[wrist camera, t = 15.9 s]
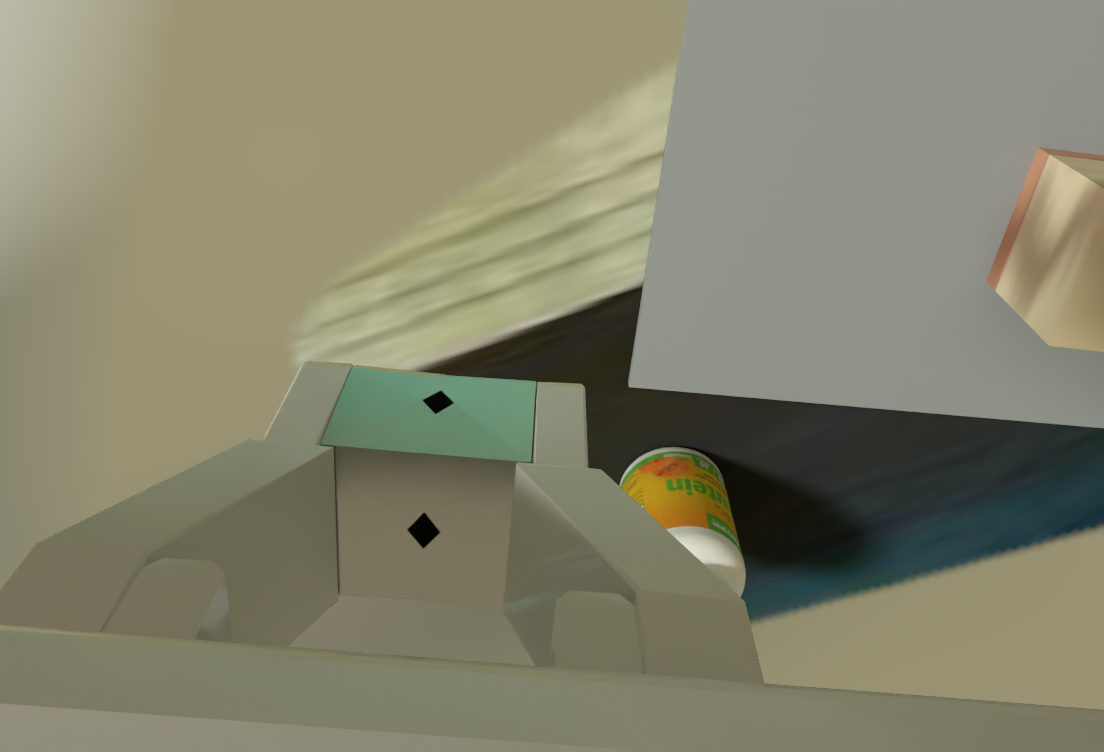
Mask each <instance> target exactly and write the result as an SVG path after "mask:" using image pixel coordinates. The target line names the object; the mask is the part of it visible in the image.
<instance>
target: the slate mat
mask: <svg viewBox="0 0 1104 752" xmlns="http://www.w3.org/2000/svg"><path fill="white" fill-rule="evenodd" d="M1038 147H1039V148H1047V149H1055V150H1063V151H1071V152H1079V153H1088V154H1096V155H1104V0H688V4H687V11H686V17H685V24H684V31H683V36H682V43H681V49H680V55H679V62H678V68H677V74H676V81H675V87H674V94H673V100H672V106H671V113H670V119H669V125H668V132H667V138H666V144H665V151H664V157H663V164H662V170H661V176H660V183H659V189H658V195H657V202H656V208H655V215H654V221H653V227H652V234H651V240H650V246H649V253H648V259H647V265H646V272H645V278H644V285H643V291H642V297H641V304H640V310H639V316H638V323H637V329H636V335H635V342H634V348H633V355H632V361H631V367H630V374H629V380H628V384H629V387H635V388H647V389H658V390H670V391H681V392H693V393H705V394H716V395H728V396H739V397H751V398H762V399H774V400H785V401H797V402H808V403H820V404H831V405H843V406H854V407H866V408H877V409H889V410H900V411H912V412H923V413H935V414H947V415H958V416H970V417H981V418H993V419H1004V420H1016V421H1027V422H1039V423H1050V424H1062V425H1073V426H1085V427H1096V428H1104V352H1100V351H1091V350H1082V349H1073V348H1064V347H1055V346H1049V345H1048V344H1047V343H1046V342H1045V341H1044V340H1043V339H1042V338H1041V337H1040V336H1039V335H1038V334H1037V333H1036V332H1035V331H1034V330H1033V329H1032V328H1031V327H1030V326H1029V325H1028V324H1027V323H1026V322H1025V321H1024V320H1023V319H1022V318H1021V317H1020V316H1019V315H1018V314H1017V313H1016V312H1015V311H1014V310H1013V309H1012V308H1011V307H1010V306H1009V304H1008V303H1007V302H1006V301H1005V300H1004V299H1003V298H1002V297H1001V296H1000V295H999V294H998V293H997V292H996V291H995V290H994V289H993V288H992V287H991V286H990V285H989V284H988V283H987V282H986V280H987V278H988V275H989V273H990V270H991V267H992V265H993V262H994V260H995V257H996V255H997V252H998V250H999V247H1000V244H1001V242H1002V239H1003V237H1004V234H1005V232H1006V229H1007V226H1008V224H1009V221H1010V219H1011V216H1012V214H1013V211H1014V208H1015V206H1016V203H1017V201H1018V198H1019V196H1020V193H1021V190H1022V188H1023V185H1024V183H1025V180H1026V178H1027V175H1028V172H1029V170H1030V167H1031V165H1032V162H1033V160H1034V157H1035V154H1036V152H1037V149H1038Z"/></svg>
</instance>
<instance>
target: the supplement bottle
mask: <svg viewBox="0 0 1104 752" xmlns="http://www.w3.org/2000/svg"><path fill="white" fill-rule="evenodd" d="M619 487H621V488H622V489H623V490H624V491H625V492H626V493H627V494H628V495H629V496H630V497H631V498H632V499H634V500H635V501H636V502H637V503H638V504H639V505H640V506H641V507H642V508H643V509H644V510H646V511H647V512H648V513H649V514H650V515H651V516H652V517H653V518H654V519H655V520H656V521H657V522H659V523H660V524H661V525H662V526H663V527H664V528H665V529H666V530H667V531H668V532H669V533H671V534H672V535H673V536H674V537H675V538H676V539H677V540H678V541H679V542H680V543H681V544H683V545H684V546H685V547H686V548H687V549H688V550H689V551H690V552H691V553H692V554H693V555H694V556H696V557H697V558H698V559H699V560H700V561H701V562H702V563H703V564H704V565H705V566H706V567H708V568H709V569H710V570H711V571H712V572H713V573H714V574H715V575H716V576H717V577H718V578H719V579H721V580H722V581H723V582H724V583H725V584H726V585H727V586H728V587H729V588H730V589H731V590H733V591H734V592H735V593H736V594H737V595H738V596H739V597H741V595H742V592H743V589H744V586H745V577H746V573H745V566H744V560H743V556H742V552H741V548H740V545H739V541H738V537H737V533H736V528H735V525H734V521H733V517H732V513H731V509H730V504H729V500H728V496H727V492H726V487H725V484H724V481H723V478H722V475H721V473H720V471H719V469H718V468H717V466H716V465H715V464H714V463H713V462H712V461H711V460H710V459H709V458H708V457H706V456H705V455H703V454H702V453H700V452H697V451H695V450H692V449H688V448H682V447H665V448H660V449H656V450H653V451H650V452H648V453H646V454H644V455H642V456H640V457H639V458H637V459H636V460H635V461H634V462H633V463H632V464H631V465H630V466H629V467H628V469H627V470H626V471H625V473H624V475H623V477H622V479H621V482H620V486H619Z"/></svg>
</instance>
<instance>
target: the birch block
mask: <svg viewBox="0 0 1104 752" xmlns="http://www.w3.org/2000/svg"><path fill="white" fill-rule="evenodd" d="M986 282H987V283H988V284H989V285H990V286H991V287H992V288H993V289H994V290H995V291H996V292H997V293H998V294H999V295H1000V296H1001V297H1002V298H1003V299H1004V300H1005V301H1006V302H1007V303H1008V304H1009V306H1010V307H1011V308H1012V309H1013V310H1014V311H1015V312H1016V313H1017V314H1018V315H1019V316H1020V317H1021V318H1022V319H1023V320H1024V321H1025V322H1026V323H1027V324H1028V325H1029V326H1030V327H1031V328H1032V329H1033V330H1034V331H1035V332H1036V333H1037V334H1038V335H1039V336H1040V337H1041V338H1042V339H1043V340H1044V341H1045V342H1046V343H1047V344H1048V345H1049V346H1055V347H1064V348H1073V349H1082V350H1091V351H1100V352H1104V155H1096V154H1088V153H1079V152H1071V151H1063V150H1055V149H1047V148H1039V147H1038V149H1037V152H1036V154H1035V157H1034V160H1033V162H1032V165H1031V167H1030V170H1029V172H1028V175H1027V178H1026V180H1025V183H1024V185H1023V188H1022V190H1021V193H1020V196H1019V198H1018V201H1017V203H1016V206H1015V208H1014V211H1013V214H1012V216H1011V219H1010V221H1009V224H1008V226H1007V229H1006V232H1005V234H1004V237H1003V239H1002V242H1001V244H1000V247H999V250H998V252H997V255H996V257H995V260H994V262H993V265H992V267H991V270H990V273H989V275H988V278H987V280H986Z"/></svg>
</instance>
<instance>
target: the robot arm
mask: <svg viewBox="0 0 1104 752" xmlns="http://www.w3.org/2000/svg"><path fill="white" fill-rule="evenodd" d="M338 596H356V597H357V596H358V597H375V598H395V599H413V600H426V601H436V602H445V603H455V604H464V605H475V606H483V607H492V608H502V609H503V613H504V615H505V616H506V618H507V619H508V621H509V623H510V624H511V626H512V627H513V629H514V631H515V633H516V634H517V636H518V638H519V639H520V641H521V643H522V644H523V646H524V647H525V649H526V651H527V652H528V654H529V656H530V657H531V659H532V661H533V662H534V664H535V666H529V665H517V664H504V663H491V662H478V661H465V660H452V659H439V658H426V657H413V656H401V655H388V654H374V653H362V652H349V651H336V650H323V649H310V648H297V647H287V646H288V645H289V644H291V642H293V641H294V640H295V639H296V638H297V637H298V636H299V635H300V634H301V633H302V632H304V631H305V630H306V629H307V628H308V627H309V626H310V625H311V624H312V623H313V622H315V621H316V620H317V619H318V618H319V617H320V616H321V615H322V614H323V613H324V612H326V611H327V610H328V609H329V608H330V607H331V606H332V605H333V604H334V603H335V602H336V601H338ZM0 752H1104V710H1098V709H1085V708H1073V707H1060V706H1046V705H1035V704H1022V703H1009V702H996V701H982V700H970V699H958V698H945V697H932V696H920V695H906V694H893V693H881V692H868V691H855V690H842V689H829V688H828V689H827V688H816V687H803V686H790V685H775V684H764V680H763V676H762V672H761V668H760V664H759V659H758V655H757V651H756V647H755V642H754V639H753V634H752V630H751V626H750V621H749V617H748V613H747V609H746V605H745V602H744V601H743V600H742V599H741V598H740V597H739V596H738V595H737V594H736V593H735V592H734V591H733V590H731V589H730V588H729V587H728V586H727V585H726V584H725V583H724V582H723V581H722V580H721V579H719V578H718V577H717V576H716V575H715V574H714V573H713V572H712V571H711V570H710V569H709V568H708V567H706V566H705V565H704V564H703V563H702V562H701V561H700V560H699V559H698V558H697V557H696V556H694V555H693V554H692V553H691V552H690V551H689V550H688V549H687V548H686V547H685V546H684V545H683V544H681V543H680V542H679V541H678V540H677V539H676V538H675V537H674V536H673V535H672V534H671V533H669V532H668V531H667V530H666V529H665V528H664V527H663V526H662V525H661V524H660V523H659V522H657V521H656V520H655V519H654V518H653V517H652V516H651V515H650V514H649V513H648V512H647V511H646V510H644V509H643V508H642V507H641V506H640V505H639V504H638V503H637V502H636V501H635V500H634V499H632V498H631V497H630V496H629V495H628V494H627V493H626V492H625V491H624V490H623V489H622V488H621V487H619V486H618V485H617V484H616V483H615V482H614V481H613V480H612V479H611V478H610V477H609V476H607V475H606V474H605V473H604V472H603V471H602V470H600V469H589V468H588V454H587V429H586V403H585V387H584V386H583V385H582V384H572V383H550V382H537V386H536V381H524V380H509V379H493V378H478V377H462V376H447V375H443V374H434V373H425V372H415V371H406V370H397V369H387V368H378V367H369V366H359V365H356V366H353V365H352V364H347V363H332V362H317V361H308V362H305V363H303V364H302V365H301V367H300V369H299V371H298V373H297V375H296V376H295V378H294V380H293V382H292V384H291V386H290V388H289V390H288V392H287V394H286V396H285V398H284V399H283V401H282V403H281V406H280V407H279V409H278V411H277V413H276V415H275V417H274V419H273V421H272V423H271V424H270V427H269V428H268V430H267V432H266V434H265V436H264V438H263V440H262V441H260V440H246V441H244V442H242V443H240V444H238V445H236V446H234V447H232V448H230V449H228V450H226V451H224V452H222V453H220V454H218V455H216V456H214V457H211V458H210V459H207V460H206V461H204V462H201V463H199V464H197V465H195V466H193V467H191V468H189V469H187V470H185V471H183V472H181V473H179V474H177V475H175V476H173V477H171V478H169V479H167V480H165V481H163V482H160V483H159V484H156V485H154V486H152V487H150V488H148V489H146V490H144V491H143V492H140V493H138V494H136V495H134V496H132V497H130V498H128V499H126V500H124V501H122V502H120V503H118V504H116V505H114V506H112V507H110V508H108V509H105V510H104V511H101V512H99V513H97V514H95V515H93V516H91V517H89V518H87V519H85V520H83V521H81V522H79V523H77V524H75V525H73V526H71V527H69V528H67V529H65V530H63V531H61V532H59V533H56V534H54V535H53V536H51V537H48V538H46V539H44V540H42V541H40V542H38V543H36V545H35V546H34V547H33V548H32V550H31V551H30V552H29V554H28V555H27V556H26V557H25V559H24V560H23V561H22V563H21V564H20V565H19V566H18V568H17V569H16V570H15V572H14V573H13V574H12V575H11V577H10V578H9V579H8V581H7V582H6V583H5V584H4V586H3V587H2V588H1V590H0Z"/></svg>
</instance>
